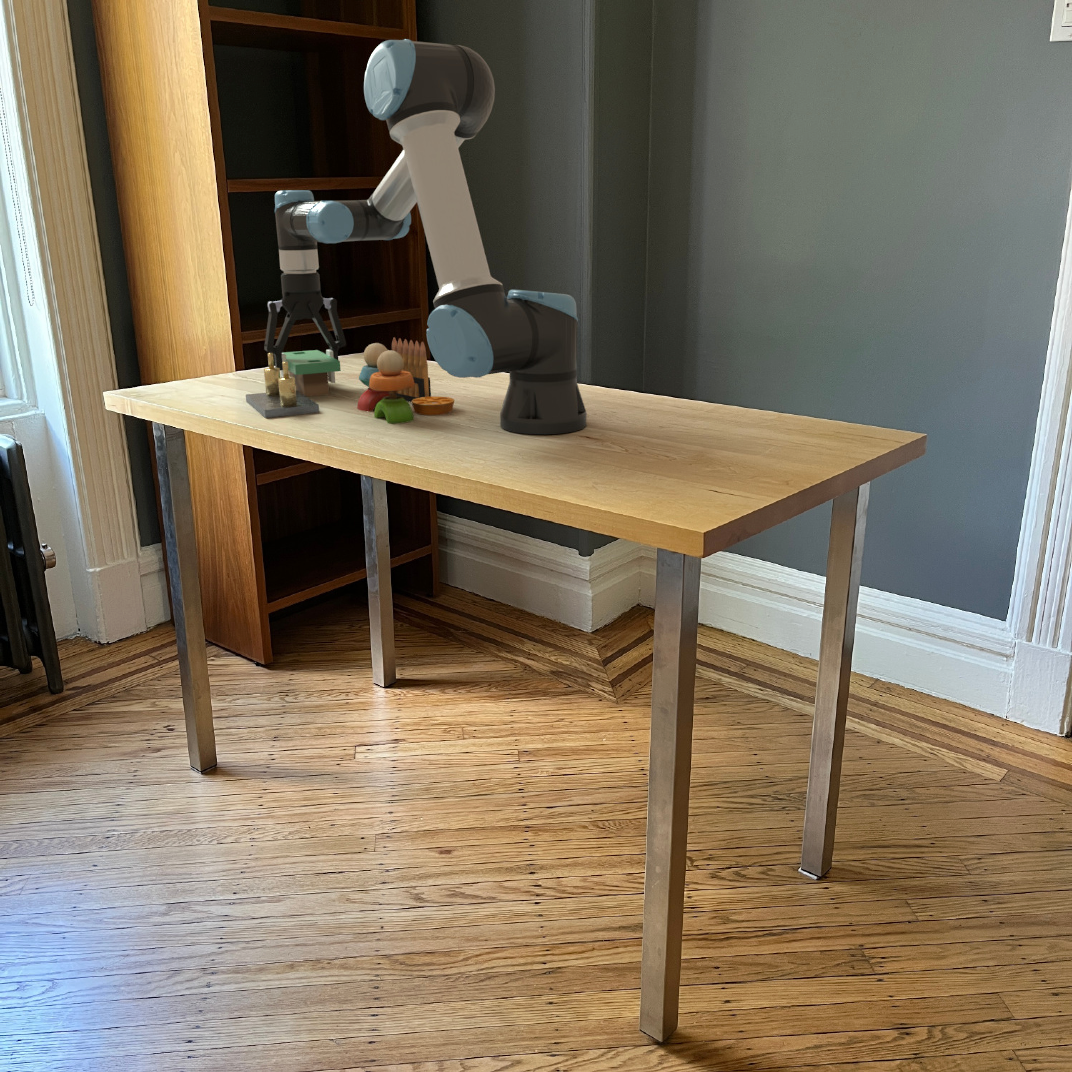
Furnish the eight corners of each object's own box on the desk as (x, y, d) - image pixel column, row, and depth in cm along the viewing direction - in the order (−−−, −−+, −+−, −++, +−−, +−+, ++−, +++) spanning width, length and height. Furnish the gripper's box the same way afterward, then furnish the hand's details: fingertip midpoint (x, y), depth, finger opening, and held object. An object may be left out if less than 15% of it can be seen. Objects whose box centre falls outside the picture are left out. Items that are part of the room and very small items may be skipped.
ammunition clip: (432, 404, 202) (429, 341, 198) (424, 405, 201) (421, 342, 197) (398, 396, 209) (395, 336, 205) (390, 398, 208) (387, 337, 204)
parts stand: (329, 394, 212) (327, 370, 210) (304, 397, 210) (302, 372, 208) (313, 385, 222) (311, 361, 220) (290, 387, 220) (288, 363, 218)
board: (340, 371, 209) (339, 361, 208) (295, 374, 205) (295, 364, 204) (318, 359, 223) (317, 350, 223) (275, 362, 220) (275, 353, 219)
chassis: (319, 412, 195) (315, 361, 192) (265, 418, 191) (260, 366, 188) (296, 397, 209) (292, 349, 206) (246, 402, 205) (241, 353, 202)
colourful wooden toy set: (466, 413, 194) (464, 345, 190) (384, 426, 184) (380, 355, 180) (416, 398, 208) (413, 335, 204) (338, 410, 198) (333, 343, 194)
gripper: (347, 268, 216) (354, 376, 223) (240, 272, 207) (251, 385, 214) (358, 270, 209) (365, 382, 217) (248, 275, 200) (259, 391, 208)
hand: (308, 383), depth 215 cm, fingers closed on board, 9 cm apart
